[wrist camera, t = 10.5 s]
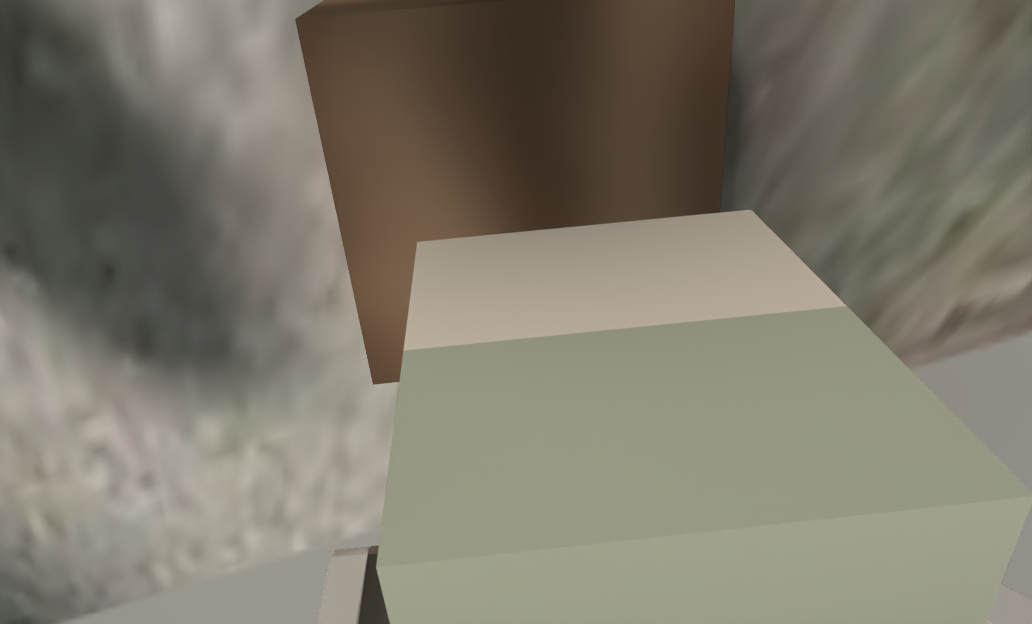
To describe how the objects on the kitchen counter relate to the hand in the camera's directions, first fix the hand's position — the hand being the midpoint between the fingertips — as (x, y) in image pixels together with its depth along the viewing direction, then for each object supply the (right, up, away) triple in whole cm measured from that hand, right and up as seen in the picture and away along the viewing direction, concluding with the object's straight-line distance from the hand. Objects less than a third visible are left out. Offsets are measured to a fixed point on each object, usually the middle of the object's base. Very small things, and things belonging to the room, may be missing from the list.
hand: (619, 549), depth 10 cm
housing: (0, +1, +2) cm, 3 cm away
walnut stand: (-1, +9, +16) cm, 19 cm away
